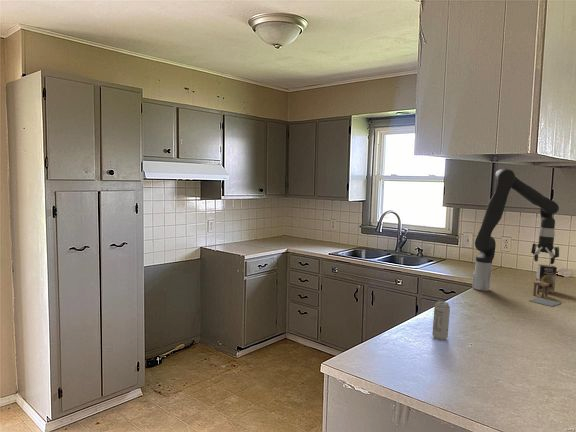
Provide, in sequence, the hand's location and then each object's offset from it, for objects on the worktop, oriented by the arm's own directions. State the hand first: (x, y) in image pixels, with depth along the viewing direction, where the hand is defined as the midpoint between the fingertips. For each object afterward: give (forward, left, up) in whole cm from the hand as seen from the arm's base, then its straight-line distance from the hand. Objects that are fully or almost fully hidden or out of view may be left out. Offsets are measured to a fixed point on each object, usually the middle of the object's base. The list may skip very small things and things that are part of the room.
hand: (543, 262), depth 248 cm
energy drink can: (+10, -115, -20) cm, 117 cm away
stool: (0, 0, -20) cm, 20 cm away
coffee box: (-4, +15, -20) cm, 26 cm away
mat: (+8, -13, -20) cm, 25 cm away
